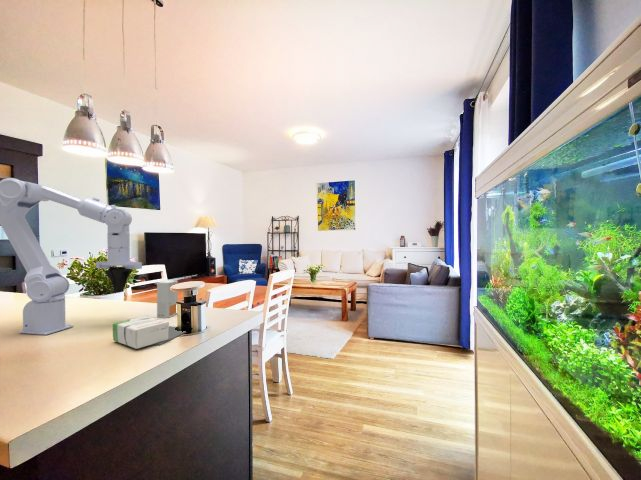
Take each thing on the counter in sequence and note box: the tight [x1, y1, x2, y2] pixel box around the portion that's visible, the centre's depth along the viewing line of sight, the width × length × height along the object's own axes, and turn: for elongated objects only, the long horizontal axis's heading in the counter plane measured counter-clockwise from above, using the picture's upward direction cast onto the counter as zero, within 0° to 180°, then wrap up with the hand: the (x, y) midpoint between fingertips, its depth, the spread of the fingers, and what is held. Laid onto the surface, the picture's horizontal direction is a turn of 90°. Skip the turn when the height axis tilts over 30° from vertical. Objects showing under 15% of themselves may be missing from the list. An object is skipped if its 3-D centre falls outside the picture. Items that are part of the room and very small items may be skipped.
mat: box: [151, 325, 187, 346], centre depth 85 cm, size 12×14×1 cm
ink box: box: [112, 315, 170, 350], centre depth 79 cm, size 9×5×12 cm
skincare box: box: [156, 279, 179, 319], centre depth 105 cm, size 6×4×12 cm
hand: (119, 291), depth 94 cm, fingers closed
